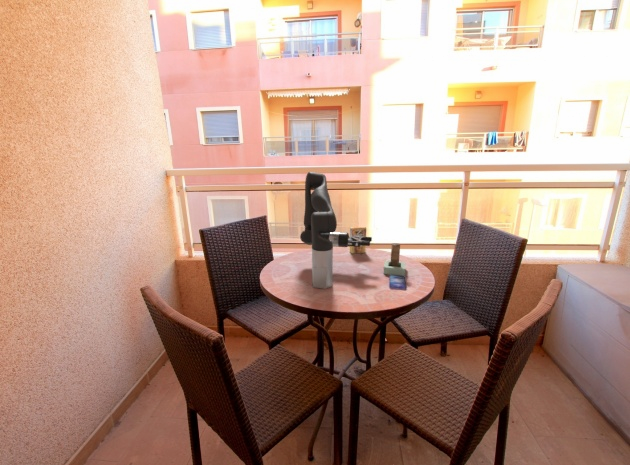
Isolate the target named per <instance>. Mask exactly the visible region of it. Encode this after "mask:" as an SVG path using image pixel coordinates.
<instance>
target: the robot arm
mask: <svg viewBox="0 0 630 465" xmlns="http://www.w3.org/2000/svg"><path fill="white" fill-rule="evenodd" d="M312 190H313V191H312ZM330 197H331V196H330V193H329V191H328V184H327V177H326V175H325V174H323V173H320V172H314V171H308V172H307V174H306V176H305V183H304V216H303V226H304V230H302V232H301V233H300V234H299V237H300V240H301V242H302V243H304V244H306V245H308V246H311V274H312V275H311V278H312V279H311V281H312V288H314V289H315V288H316V289H324V290H326V289H328V288H330V287H332V286H333V282H334V281H333V279H334V278H333V277H334V276H333V275H334V273H333V272H334V271H333V270H334V269H333V268H334V262H333V261H334V260H333V258H334V256H333V255H334V254H333V253H334V251H333V250H334V247H338V248H348V247H350V246H354V247H360V246H366V247H370V246H371V242H372V241H373V240H372V239H373V237H372V236H366V237H364V235H352V237H350V233H349V232H342V231H337V230H336V229H337V226H338V223H337V217H336V215H335V212H334V209H333V207H332V202H331V198H330Z"/></svg>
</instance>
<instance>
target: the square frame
mask: <svg viewBox="0 0 630 465" xmlns="http://www.w3.org/2000/svg"><path fill="white" fill-rule="evenodd" d="M390 264H391V260H384V264H383V275H391V274H392V275H401V276H405V277H406V262H405V261H399V267H391V266H390Z"/></svg>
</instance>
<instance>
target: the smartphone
mask: <svg viewBox="0 0 630 465" xmlns="http://www.w3.org/2000/svg"><path fill="white" fill-rule="evenodd" d="M388 275H389V274H388ZM388 278H389V280H388V282H389V283H388V288H389V289H390V290H398V291H399V290H400V291H406V290H407V281H406V275H405V276H401V275H392V274H391V275H389V276H388Z"/></svg>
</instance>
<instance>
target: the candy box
mask: <svg viewBox="0 0 630 465" xmlns="http://www.w3.org/2000/svg"><path fill="white" fill-rule="evenodd" d="M352 235H364V237H367V227H365V226H352V227H351V226H350V227H349V237H352ZM366 248H367V246H360V247H354V246H349V253H351V254H361V253H366V250H367V249H366Z"/></svg>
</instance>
